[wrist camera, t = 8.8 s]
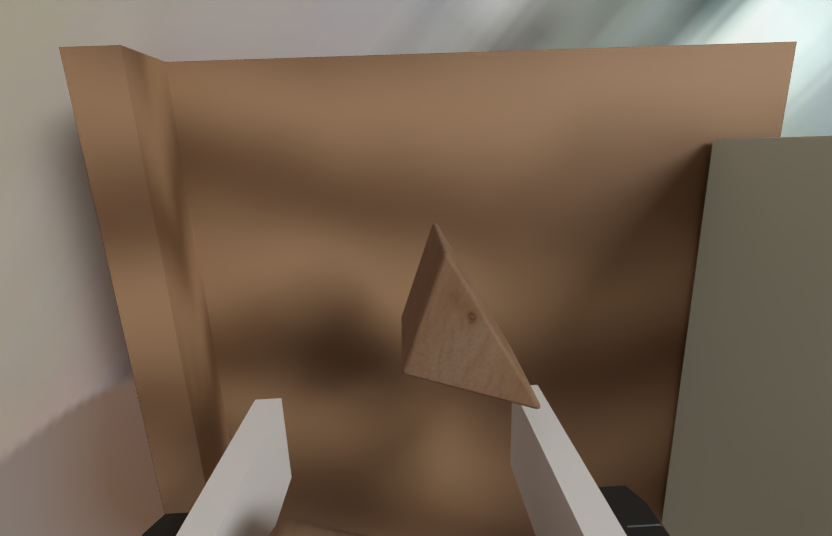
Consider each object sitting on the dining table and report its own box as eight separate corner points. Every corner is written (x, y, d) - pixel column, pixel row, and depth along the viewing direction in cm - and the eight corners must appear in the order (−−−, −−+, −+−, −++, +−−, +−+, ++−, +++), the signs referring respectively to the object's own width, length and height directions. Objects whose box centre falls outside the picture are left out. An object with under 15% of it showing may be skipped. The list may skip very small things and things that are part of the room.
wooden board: (136, 70, 15) (58, 46, 12) (767, 49, 16) (869, 21, 12) (230, 575, 21) (197, 657, 17) (688, 546, 21) (743, 622, 18)
